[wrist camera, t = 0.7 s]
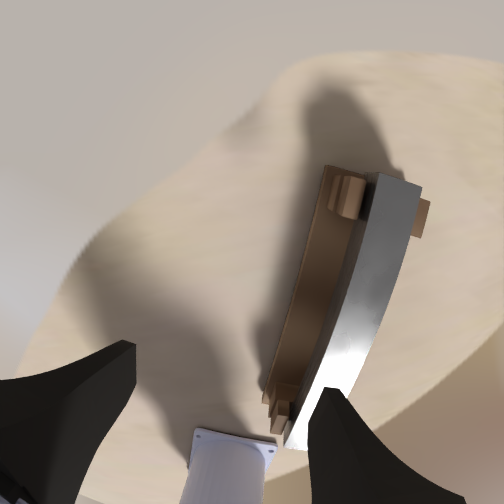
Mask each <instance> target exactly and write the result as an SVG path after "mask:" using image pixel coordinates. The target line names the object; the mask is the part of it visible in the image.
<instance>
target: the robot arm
mask: <svg viewBox="0 0 504 504" xmlns="http://www.w3.org/2000/svg"><path fill="white" fill-rule="evenodd" d="M135 386H136V344H134V343H131V342H128V341H125V340H120V341H118V342H116V343H114V344H112V345H110V346H108V347H106V348H104V349H102V350H99V351H97V352H95V353H93V354H91V355H89V356H87V357H85V358H83V359H80V360H78V361H75V362H73V363H70V364H68V365H65V366H63V367H60V368H57V369H55V370H51V371H48V372H44V373H41V374H37V375H33V376H27V377H22V378H16V379H8V380H0V504H75V500H76V498H77V495H78V493H79V490H80V487H81V485H82V482H83V480H84V477H85V475H86V473H87V470H88V468H89V466H90V464H91V461H92V459H93V457H94V455H95V453H96V451H97V449H98V447H99V445H100V444H101V442H102V440H103V439H104V437H105V436H106V434H107V433H108V431H109V430H110V428H111V427H112V425H113V424H114V422H115V421H116V419H117V418H118V416H119V415H120V413H121V412H122V410H123V409H124V407H125V406H126V404H127V402H128V400H129V398H130V396H131V394H132V392H133V390H134V388H135ZM307 448H308V459H309V468H310V477H311V488H312V504H466V502H465V499H464V497H462V496H460V495H458V494H455V493H453V492H450V491H448V490H446V489H444V488H442V487H440V486H438V485H436V484H434V483H433V482H431V481H429V480H427V479H426V478H424V477H423V476H421V475H420V474H418V473H417V472H415V471H414V470H413V469H411V468H410V467H409V466H407V465H406V464H405V463H403V462H402V461H401V460H400V459H398V458H397V457H396V456H395V455H394V454H393V453H392V452H391V451H390V450H389V449H388V448H387V447H386V446H385V445H384V444H383V443H382V442H381V441H380V440H379V439H378V438H377V437H376V435H375V434H374V433H373V432H372V431H371V429H370V428H369V427H368V426H367V425H366V423H365V422H364V421H363V420H362V418H361V417H360V416H359V414H358V413H357V412H356V410H355V409H354V407H353V406H352V405H351V403H350V402H349V401H348V399H347V398H346V396H345V395H344V394H343V392H342V391H341V390H340V388H334V387H325V386H324V388H323V390H322V393H321V395H320V397H319V399H318V402H317V404H316V406H315V408H314V410H313V413H312V415H311V417H310V419H309V421H308V432H307ZM277 449H278V445H277V444H276V443H271V442H265V441H259V440H253V439H248V438H242V437H237V436H232V435H228V434H223V433H219V432H215V431H210V430H206V429H202V428H196V429H195V431H194V436H193V443H192V449H191V457H190V464H189V471H188V477H187V480H186V483H185V487H184V490H183V493H182V496H181V500H180V503H179V504H262V503H263V490H264V479H265V473H266V471H267V469H268V467H269V465H270V463H271V461H272V459H273V457H274V455H275V453H276V451H277Z"/></svg>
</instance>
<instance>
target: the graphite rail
mask: <svg viewBox="0 0 504 504" xmlns="http://www.w3.org/2000/svg"><path fill="white" fill-rule="evenodd" d="M364 180H366V185H365V190H364V194H363V198H362V202H361V206H360V211H359V214H358V218H357V220H355V219H354V222H353V226H352V230H351V233H350V237H349V241H348V244H347V248H346V251H345V255H344V258H343V262H342V265H341V269H340V272H339V275H338V279H337V282H336V285H335V288H334V292H333V295H332V298H331V301H330V304H329V307H328V310H327V313H326V316H325V319H324V322H323V325H322V328H321V331H320V334H319V336H318V339H317V342H316V345H315V348H314V350H313V353H312V356H311V358H310V361H309V364H308V366H307V369H306V372H305V374H304V377H303V379H302V382H301V384H300V387H299V389H298V392H297V394H296V397H295V399H294V402H293V404H292V406H291V409H290V411H289V419H288V421H287V424H286V426H285V428H284V447H283V448H290V449H298V450H308V448H307V432H308V421H309V419H310V417H311V415H312V413H313V410H314V408H315V406H316V404H317V402H318V399H319V397H320V395H321V393H322V390H323V388H324V386H325V387H334V388H340V390H341V391H342V392H343V394H344V395H345V396H346V398H347V396H348V394H349V392H350V390H351V388H352V386H353V384H354V382H355V380H356V378H357V376H358V374H359V372H360V369H361V367H362V365H363V363H364V361H365V359H366V356H367V354H368V352H369V350H370V347H371V345H372V343H373V340H374V338H375V336H376V333H377V331H378V328H379V326H380V323H381V321H382V318H383V316H384V313H385V311H386V308H387V305H388V303H389V300H390V297H391V294H392V292H393V289H394V286H395V283H396V280H397V277H398V274H399V271H400V268H401V265H402V262H403V259H404V255H405V252H406V249H407V245H408V242H409V238H410V235H411V231H412V228H413V224H414V220H415V216H416V212H417V208H418V204H419V200H420V196H421V191H422V187H421V186H418V185H415V184H412V183H410V182H407V181H404V180H401V179H398V178H395V177H392V176H389V175H386V174H383V173H380V172H376V173H365V176H364Z"/></svg>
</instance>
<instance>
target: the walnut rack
mask: <svg viewBox="0 0 504 504" xmlns="http://www.w3.org/2000/svg"><path fill="white" fill-rule="evenodd" d="M364 176H365V175H361V174H358V173H355V172H351V171H348V170H344V169H340V168H337V167H333V166H329V165H326V166H325V169H324V173H323V178H322V182H321V186H320V191H319V195H318V199H317V204H316V208H315V212H314V216H313V220H312V224H311V228H310V232H309V236H308V240H307V244H306V248H305V252H304V256H303V259H302V263H301V267H300V271H299V275H298V278H297V282H296V286H295V289H294V293H293V296H292V300H291V303H290V307H289V310H288V314H287V317H286V321H285V324H284V328H283V331H282V334H281V338H280V341H279V344H278V348H277V351H276V354H275V358H274V361H273V364H272V367H271V370H270V373H269V377H268V380H267V383H266V386H265V389H264V392H263V395H262V403H263V404H268V405H269V415H268V417H269V418H271V427H270V433H272V434H278V435H282V432H283V430H284V428H285V426H286V424H287V421H288V419H289V411H290V409H291V406H292V404H293V402H294V399H295V397H296V394H297V392H298V389H299V387H300V384H301V382H302V379H303V377H304V374H305V372H306V369H307V366H308V364H309V361H310V358H311V356H312V353H313V350H314V348H315V345H316V342H317V339H318V336H319V334H320V331H321V328H322V325H323V322H324V319H325V316H326V313H327V310H328V307H329V304H330V301H331V298H332V295H333V292H334V288H335V285H336V282H337V279H338V275H339V272H340V269H341V265H342V262H343V258H344V255H345V251H346V248H347V244H348V241H349V237H350V233H351V230H352V226H353V222H354V219H355V220H357V218H358V214H359V211H360V206H361V202H362V198H363V194H364V190H365V185H366V180H364ZM429 206H430V201H427V200H424V199H422V198H420V200H419V204H418V208H417V212H416V216H415V220H414V224H413V228H412V231H411V235H412V236H415V237H418V238H421V236H422V233H423V229H424V226H425V222H426V218H427V214H428V210H429Z"/></svg>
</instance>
